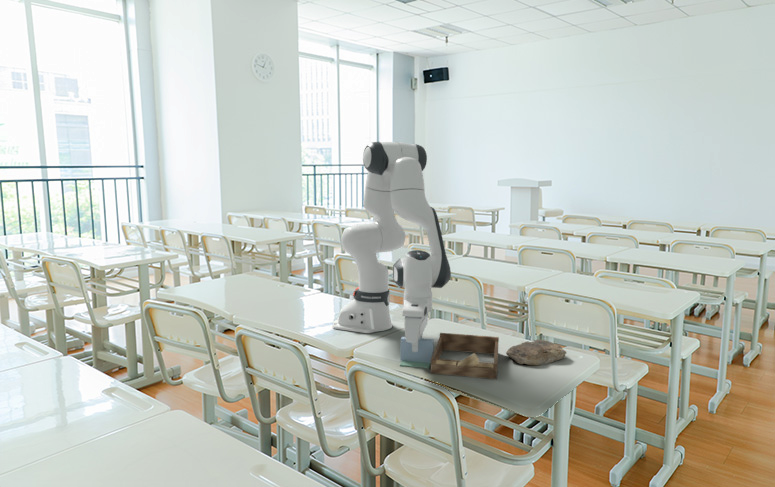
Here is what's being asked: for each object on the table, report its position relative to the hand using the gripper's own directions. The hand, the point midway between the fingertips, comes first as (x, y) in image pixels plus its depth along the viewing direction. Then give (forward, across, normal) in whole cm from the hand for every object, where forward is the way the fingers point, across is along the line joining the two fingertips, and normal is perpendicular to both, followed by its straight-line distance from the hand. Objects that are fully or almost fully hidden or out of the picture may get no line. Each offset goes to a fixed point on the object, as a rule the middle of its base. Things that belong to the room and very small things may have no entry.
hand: (416, 347), depth 168 cm
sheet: (+4, 0, 0) cm, 4 cm away
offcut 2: (+5, +4, +20) cm, 21 cm away
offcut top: (+3, +5, +17) cm, 18 cm away
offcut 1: (+5, +4, +10) cm, 12 cm away
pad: (+5, 0, 0) cm, 5 cm away
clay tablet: (+5, -13, +35) cm, 38 cm away
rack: (+5, -3, +15) cm, 16 cm away
